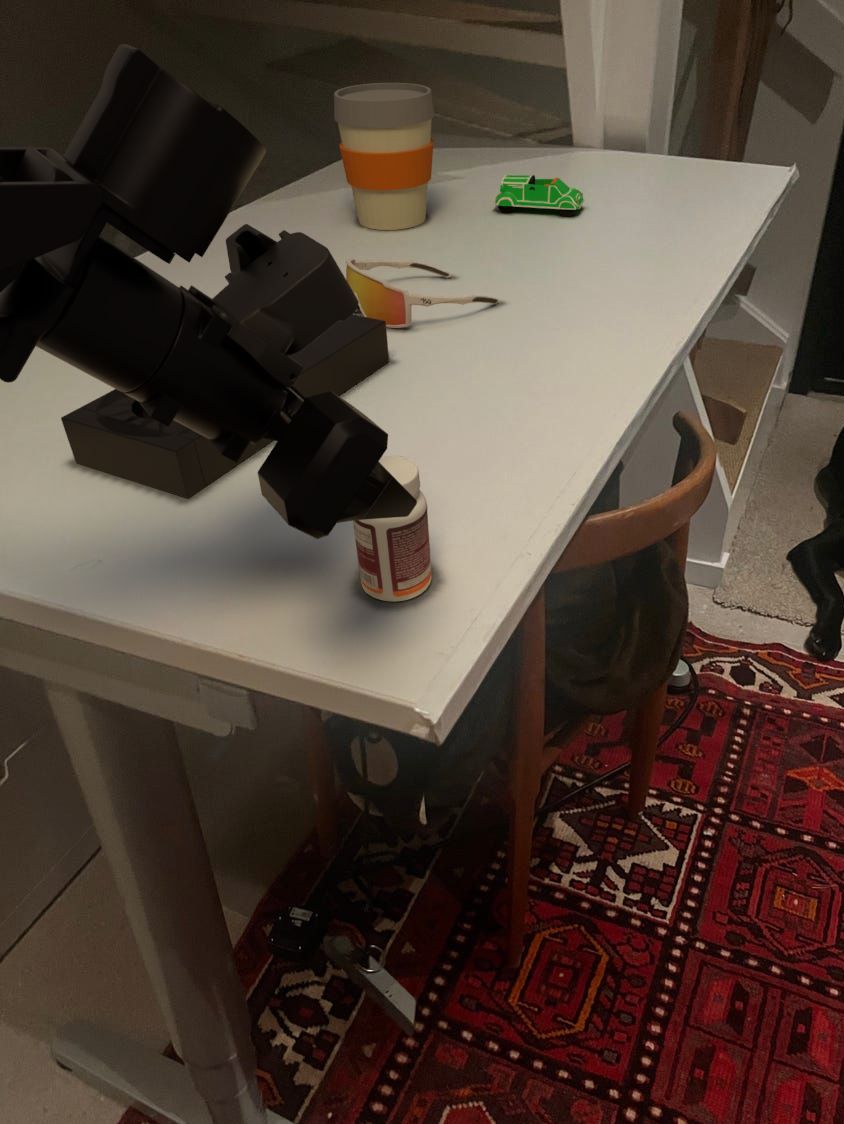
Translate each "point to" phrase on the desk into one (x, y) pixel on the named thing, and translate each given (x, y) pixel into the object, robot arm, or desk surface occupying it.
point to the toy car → (537, 194)
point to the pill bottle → (396, 543)
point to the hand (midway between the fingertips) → (374, 474)
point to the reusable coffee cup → (386, 151)
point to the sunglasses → (395, 292)
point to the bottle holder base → (186, 456)
